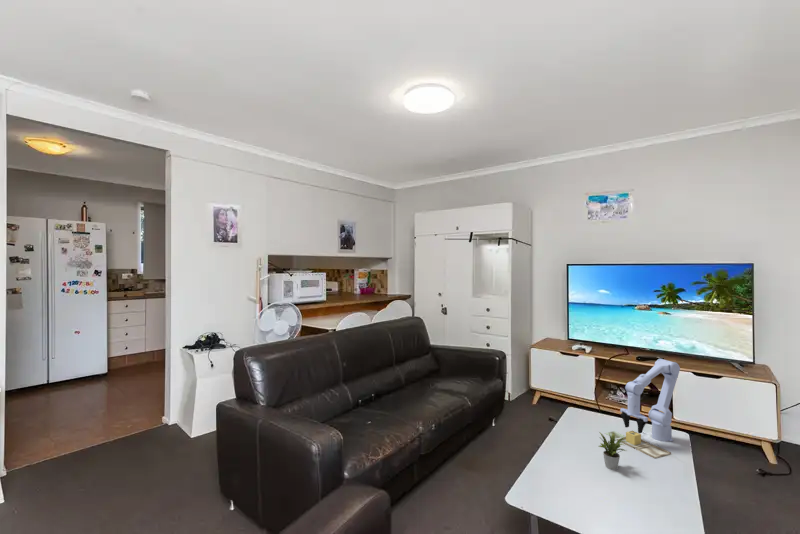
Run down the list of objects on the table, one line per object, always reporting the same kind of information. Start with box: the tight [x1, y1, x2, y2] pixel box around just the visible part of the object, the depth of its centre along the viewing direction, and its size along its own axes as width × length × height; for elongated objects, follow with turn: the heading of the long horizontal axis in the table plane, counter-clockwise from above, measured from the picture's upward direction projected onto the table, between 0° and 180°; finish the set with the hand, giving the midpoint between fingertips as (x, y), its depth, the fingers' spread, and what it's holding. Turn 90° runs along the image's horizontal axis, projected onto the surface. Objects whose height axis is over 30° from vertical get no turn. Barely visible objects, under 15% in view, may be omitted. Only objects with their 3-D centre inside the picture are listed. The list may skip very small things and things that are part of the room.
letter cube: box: [625, 430, 642, 445], centre depth 210 cm, size 5×5×5 cm
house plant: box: [598, 431, 628, 471], centre depth 185 cm, size 14×14×16 cm
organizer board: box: [604, 430, 672, 459], centre depth 209 cm, size 13×31×1 cm, turn 22°
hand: (633, 429), depth 210 cm, fingers open, 7 cm apart
